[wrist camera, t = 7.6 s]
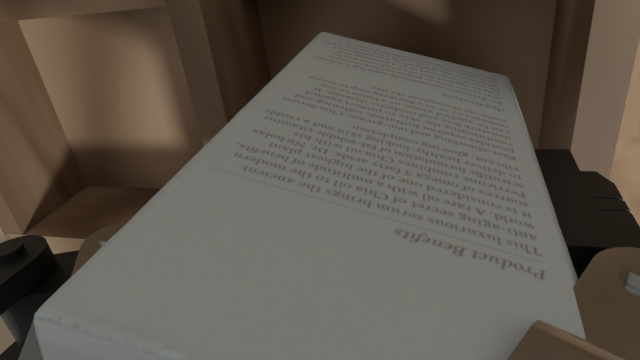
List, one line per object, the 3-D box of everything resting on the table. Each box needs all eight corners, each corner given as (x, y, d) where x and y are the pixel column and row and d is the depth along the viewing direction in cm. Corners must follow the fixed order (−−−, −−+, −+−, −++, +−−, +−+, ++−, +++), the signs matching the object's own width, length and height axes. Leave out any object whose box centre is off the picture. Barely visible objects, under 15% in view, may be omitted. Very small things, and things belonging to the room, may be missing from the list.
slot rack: (602, -91, 13) (666, -91, 9) (554, 213, 18) (583, 297, 14) (-5, -16, 19) (-123, 3, 15) (85, 196, 24) (14, 252, 20)
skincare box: (301, 145, 16) (66, 508, 7) (321, 27, 14) (4, 305, 4) (468, 192, 16) (492, 679, 6) (517, 74, 13) (700, 547, 3)
